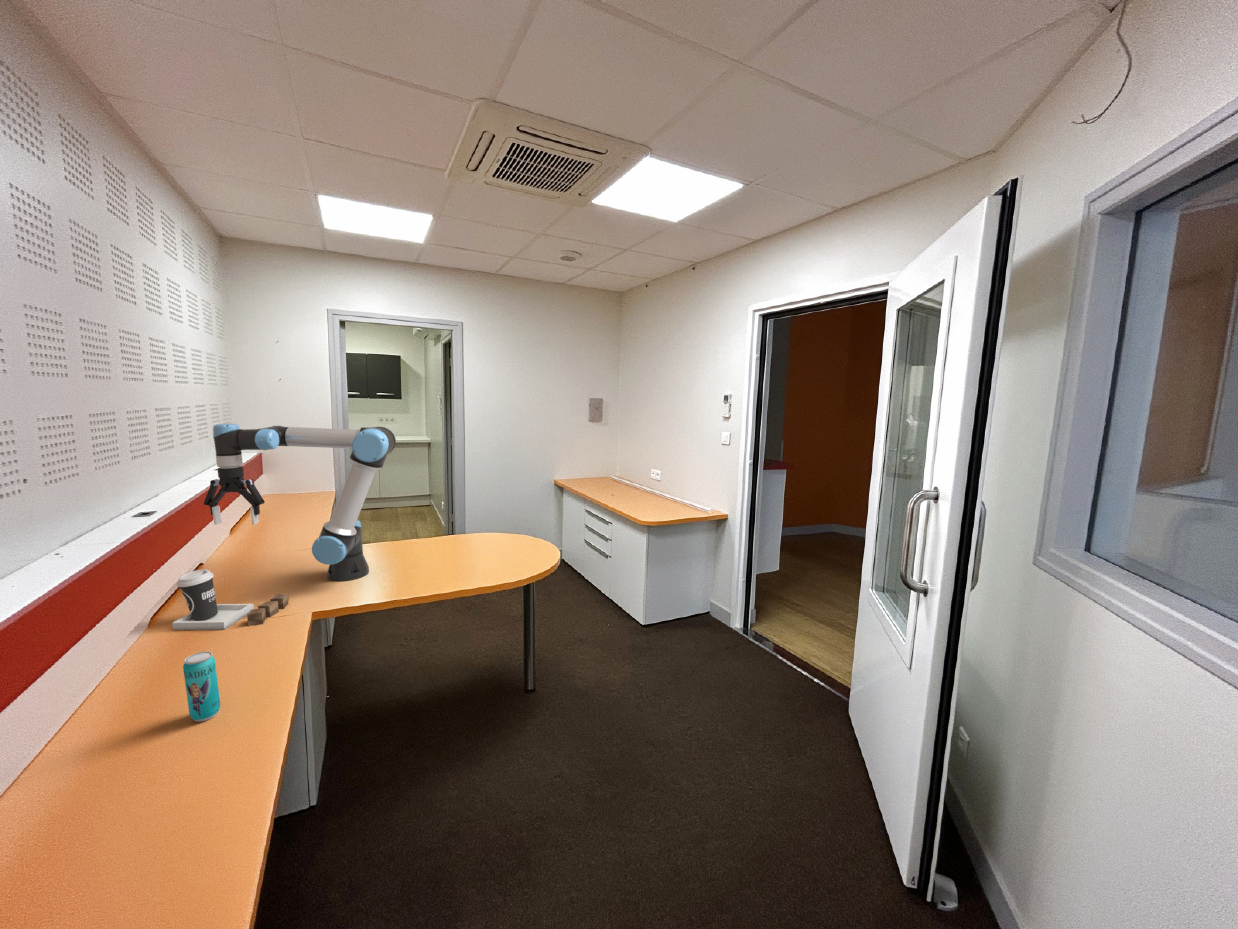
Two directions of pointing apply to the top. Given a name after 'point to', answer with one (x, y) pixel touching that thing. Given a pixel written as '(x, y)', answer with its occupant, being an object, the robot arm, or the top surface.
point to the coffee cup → (199, 593)
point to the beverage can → (201, 686)
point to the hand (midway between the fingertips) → (236, 523)
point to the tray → (215, 618)
